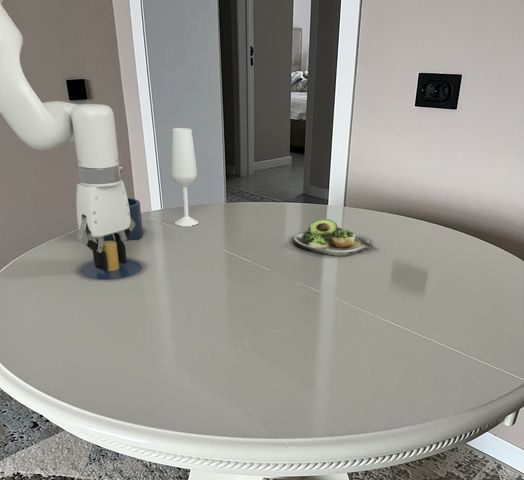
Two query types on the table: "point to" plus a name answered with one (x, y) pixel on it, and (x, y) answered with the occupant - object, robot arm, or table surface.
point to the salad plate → (331, 239)
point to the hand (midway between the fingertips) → (111, 264)
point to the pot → (136, 217)
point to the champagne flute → (184, 167)
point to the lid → (111, 265)
